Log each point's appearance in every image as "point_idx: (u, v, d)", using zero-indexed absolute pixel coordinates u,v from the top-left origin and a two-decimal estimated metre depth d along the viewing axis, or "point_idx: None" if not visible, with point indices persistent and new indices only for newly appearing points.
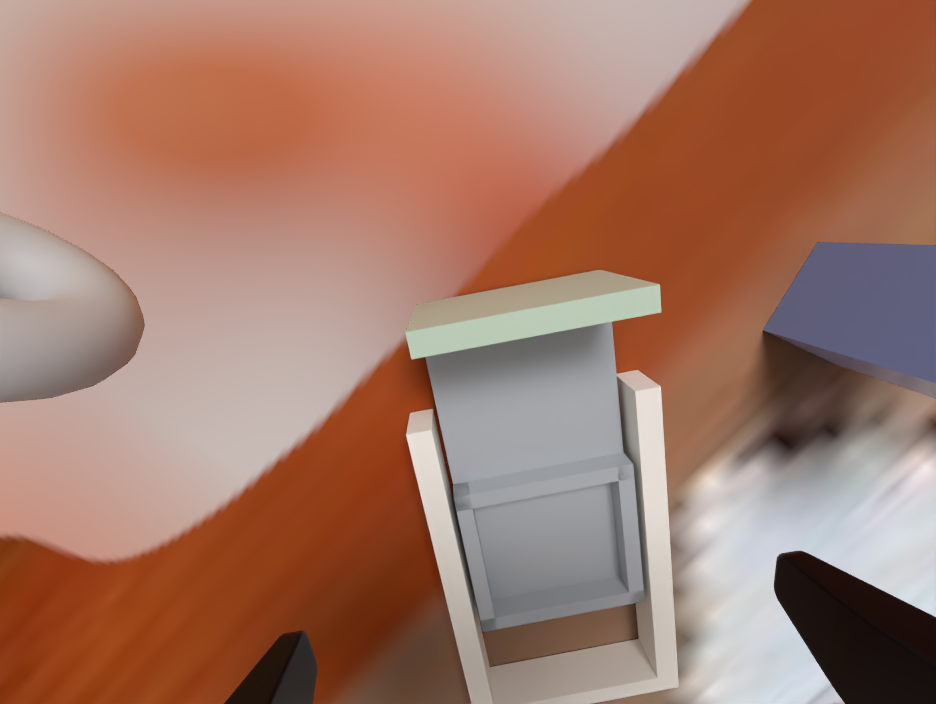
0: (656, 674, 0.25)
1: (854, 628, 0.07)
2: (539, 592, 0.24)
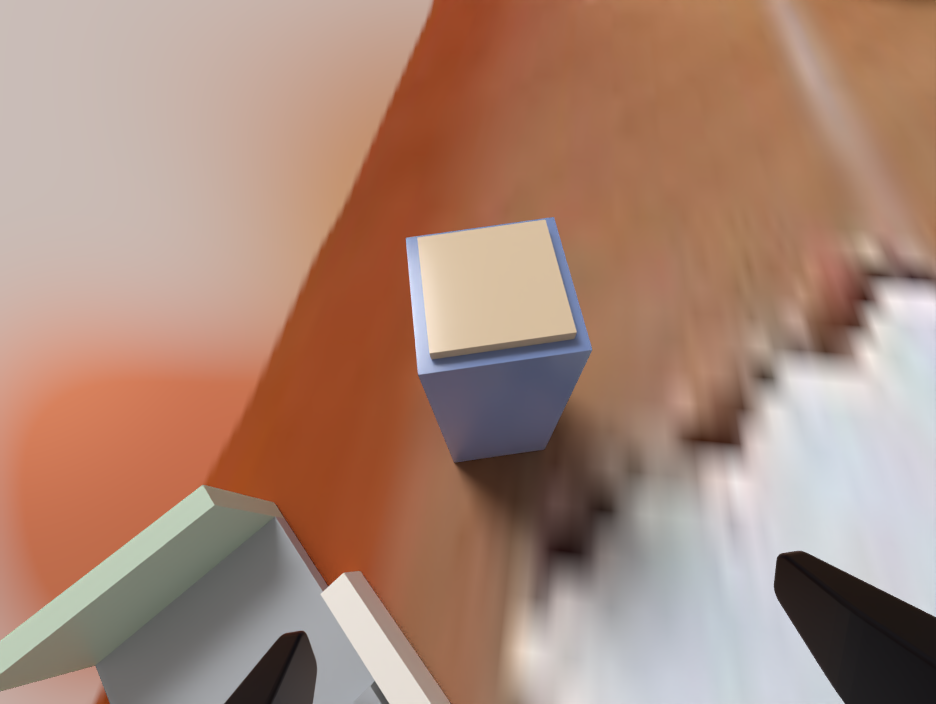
0: None
1: (854, 628, 0.07)
2: None
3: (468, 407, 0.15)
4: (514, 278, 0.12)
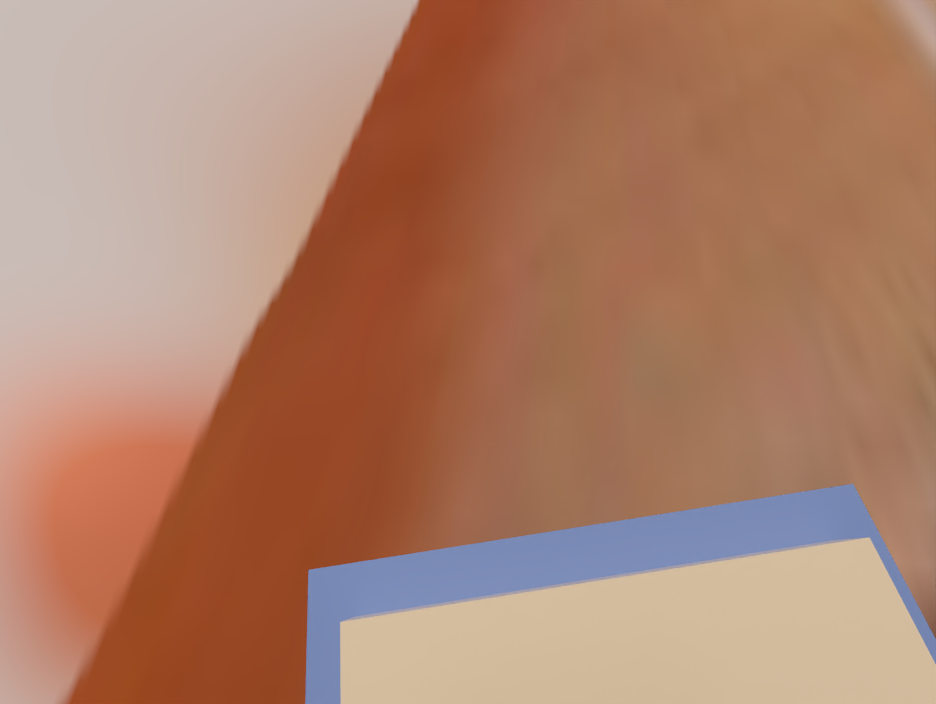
0: None
1: None
2: None
3: None
4: None
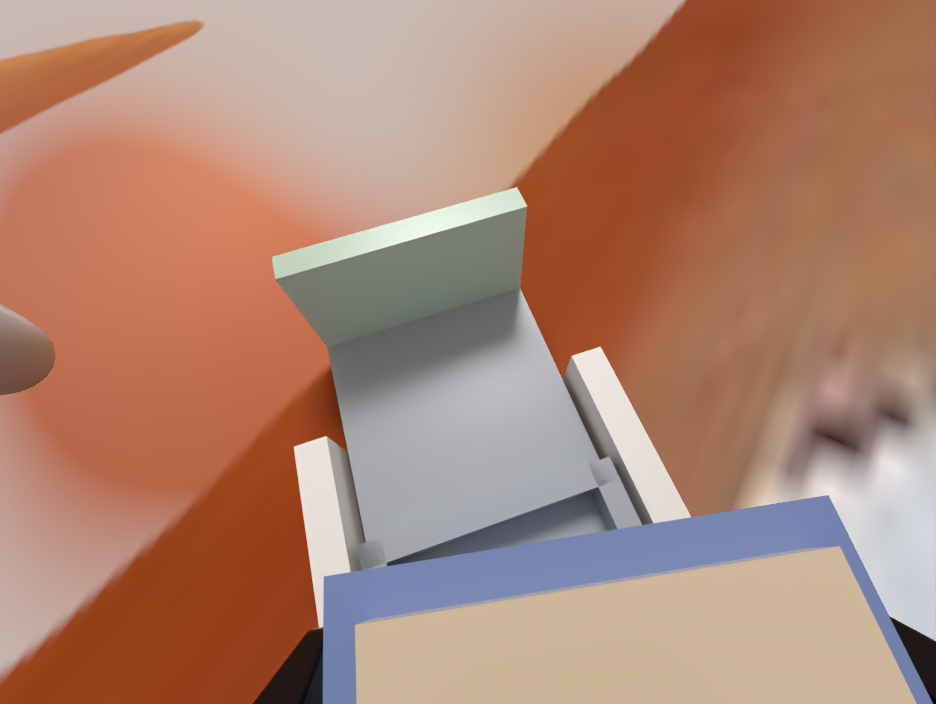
0: None
1: None
2: None
3: None
4: None
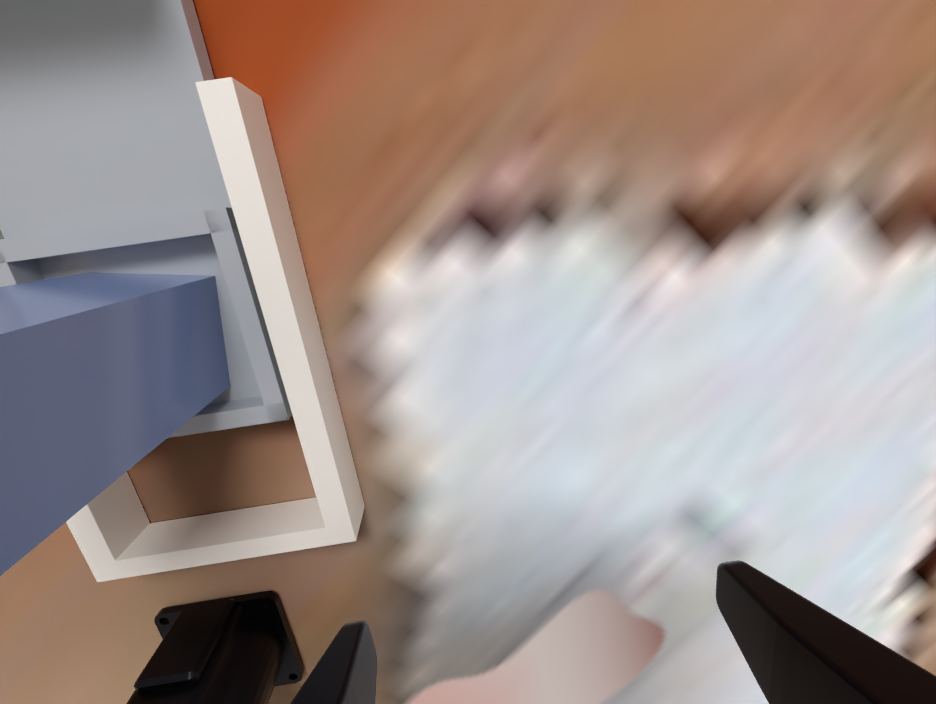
0: (324, 522, 0.20)
1: (780, 640, 0.06)
2: None
3: None
4: None
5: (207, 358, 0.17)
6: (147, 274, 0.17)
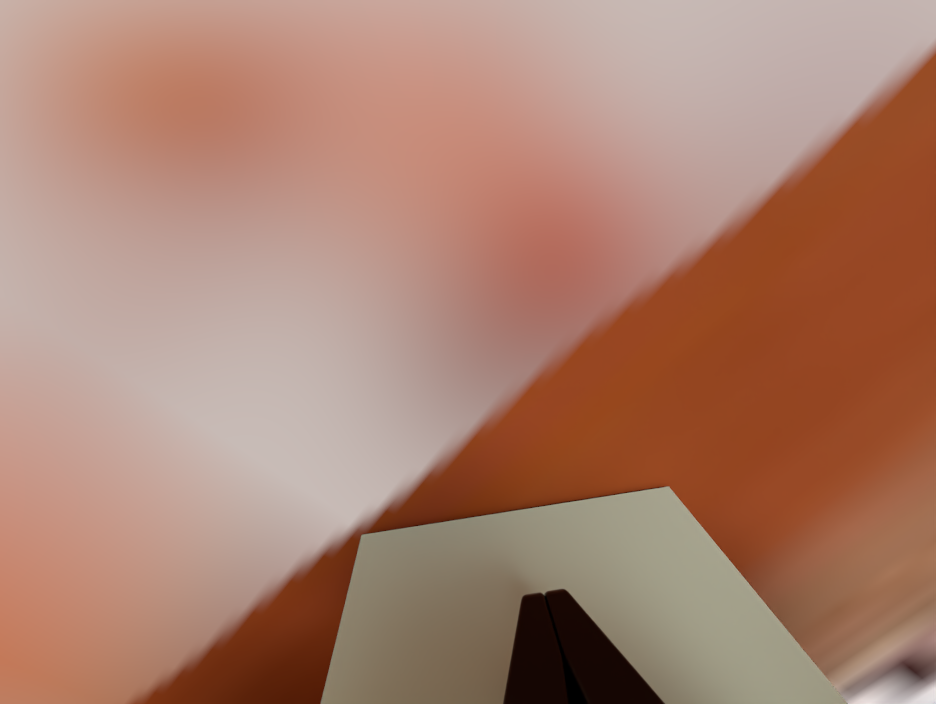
0: None
1: (567, 675, 0.06)
2: None
3: None
4: None
5: None
6: None
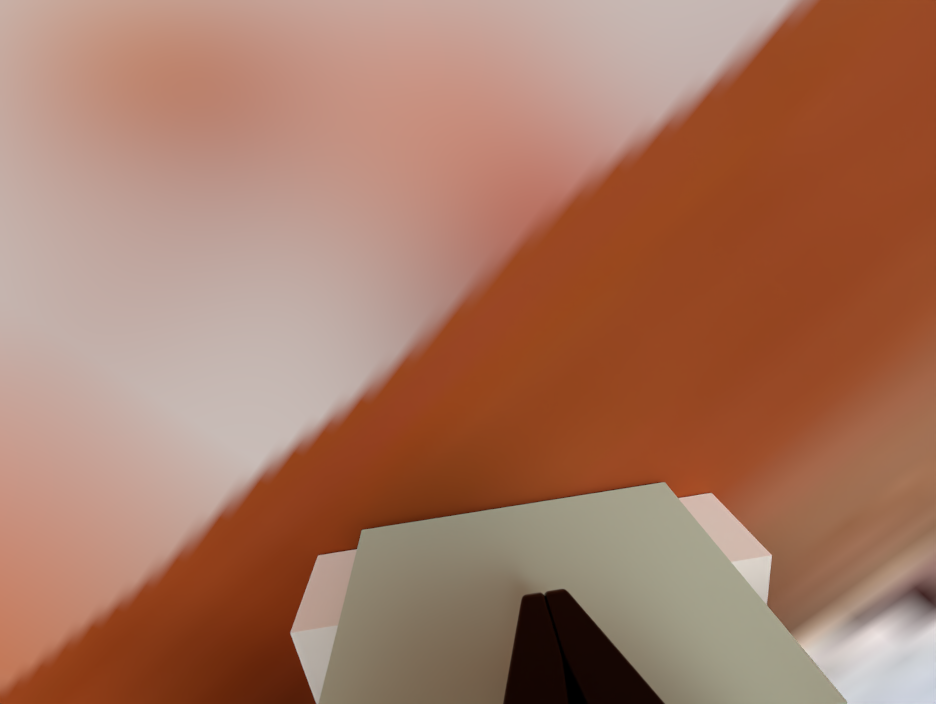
0: None
1: (567, 675, 0.06)
2: None
3: None
4: None
5: None
6: None
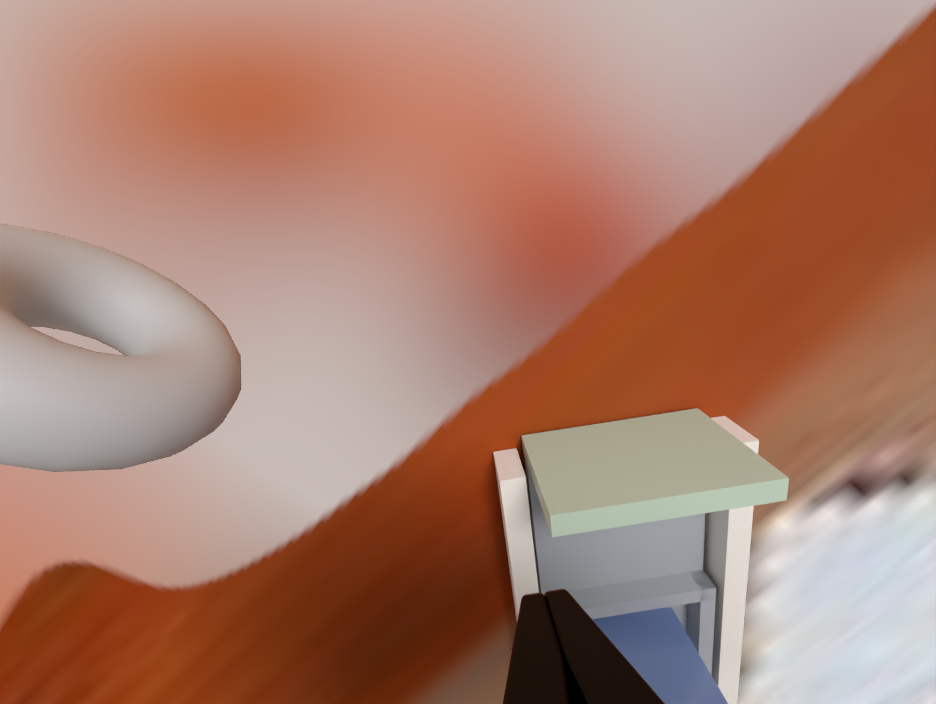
0: None
1: (567, 675, 0.06)
2: None
3: None
4: None
5: None
6: None
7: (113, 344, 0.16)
